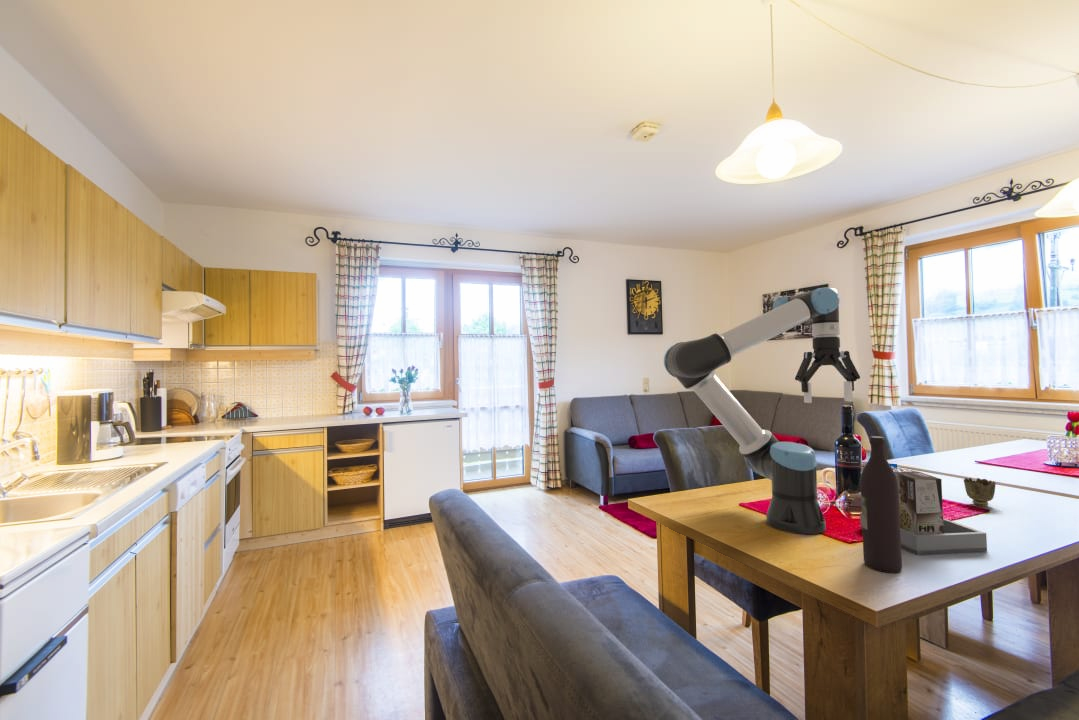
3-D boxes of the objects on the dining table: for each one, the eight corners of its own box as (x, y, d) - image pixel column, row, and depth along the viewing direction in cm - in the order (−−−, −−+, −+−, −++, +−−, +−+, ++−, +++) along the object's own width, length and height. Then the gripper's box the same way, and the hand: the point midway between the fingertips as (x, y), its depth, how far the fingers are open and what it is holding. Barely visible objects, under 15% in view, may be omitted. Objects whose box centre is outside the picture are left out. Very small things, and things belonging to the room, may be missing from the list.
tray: (917, 555, 109) (916, 536, 109) (860, 528, 127) (860, 512, 127) (987, 551, 110) (986, 533, 110) (921, 526, 128) (920, 510, 128)
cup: (970, 507, 143) (969, 482, 143) (960, 500, 150) (959, 476, 150) (1001, 509, 140) (1000, 484, 140) (990, 503, 146) (989, 478, 147)
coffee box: (945, 542, 114) (943, 479, 114) (917, 541, 115) (914, 478, 115) (921, 529, 123) (919, 470, 123) (895, 529, 124) (892, 470, 124)
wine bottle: (882, 559, 108) (877, 434, 108) (910, 572, 101) (904, 438, 101) (856, 561, 107) (851, 435, 107) (882, 575, 100) (876, 440, 100)
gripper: (795, 336, 141) (798, 404, 141) (871, 335, 143) (874, 401, 142) (781, 338, 149) (784, 402, 148) (854, 336, 150) (856, 400, 150)
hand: (828, 402), depth 145 cm, fingers open, 13 cm apart
